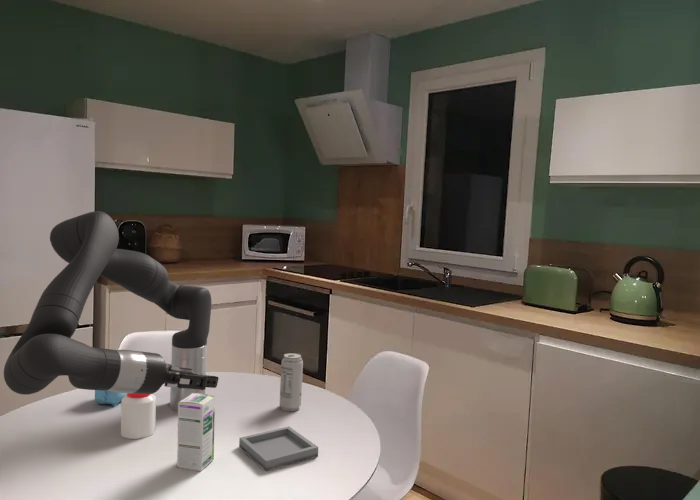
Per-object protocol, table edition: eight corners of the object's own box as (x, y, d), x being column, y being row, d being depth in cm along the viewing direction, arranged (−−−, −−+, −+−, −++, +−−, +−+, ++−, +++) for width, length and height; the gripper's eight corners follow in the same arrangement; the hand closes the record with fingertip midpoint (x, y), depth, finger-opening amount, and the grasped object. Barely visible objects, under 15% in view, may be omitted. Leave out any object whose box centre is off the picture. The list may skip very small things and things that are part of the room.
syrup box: (201, 472, 109) (204, 404, 108) (175, 467, 110) (177, 400, 109) (214, 459, 115) (216, 395, 114) (189, 455, 116) (191, 391, 115)
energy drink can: (304, 409, 146) (307, 357, 145) (285, 413, 143) (287, 359, 142) (294, 402, 151) (296, 351, 150) (275, 405, 148) (278, 353, 147)
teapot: (116, 392, 152) (116, 367, 151) (136, 394, 151) (136, 369, 150) (91, 407, 140) (91, 380, 139) (112, 409, 139) (113, 382, 139)
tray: (239, 446, 121) (239, 437, 121) (288, 434, 129) (289, 426, 129) (265, 471, 111) (266, 461, 111) (317, 456, 119) (318, 447, 119)
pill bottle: (162, 430, 128) (163, 386, 127) (137, 441, 121) (138, 395, 120) (138, 423, 131) (140, 380, 131) (113, 434, 124) (114, 389, 124)
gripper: (160, 357, 91) (230, 365, 103) (117, 345, 100) (186, 353, 112) (149, 401, 90) (221, 404, 102) (106, 384, 98) (178, 389, 111)
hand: (203, 377), depth 107 cm, fingers open, 8 cm apart
